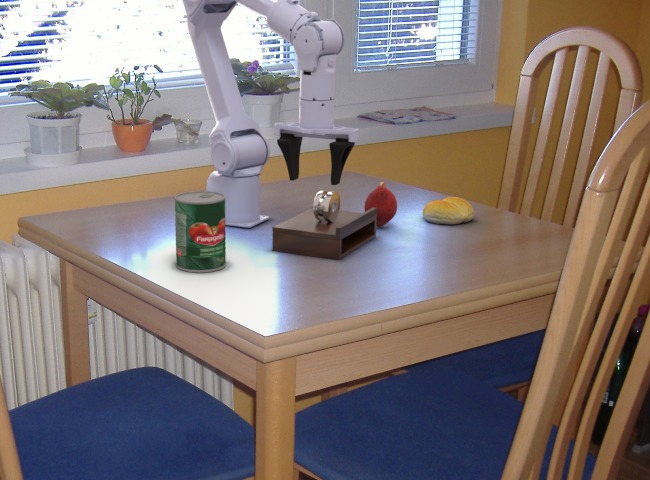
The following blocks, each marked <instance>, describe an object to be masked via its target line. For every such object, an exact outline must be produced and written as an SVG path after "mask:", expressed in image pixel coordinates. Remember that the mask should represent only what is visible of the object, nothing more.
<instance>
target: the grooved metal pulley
mask: <svg viewBox="0 0 650 480" xmlns="http://www.w3.org/2000/svg"><path fill="white" fill-rule="evenodd" d="M312 208H313V214H314V217H315V218H316V219H317V220H319V221H323V220H324V219H325V221H327V222H334V221H335V220H336V219H337V217H338V214H339V210H341V196H340V194H339V192H338V191H332V190H329V191H327V190H324V189H323V190H322V189H321V190H319V191H318V192H317V193H316V195H315V196H314V199H313V203H312Z"/></svg>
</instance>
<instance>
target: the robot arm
mask: <svg viewBox="0 0 650 480" xmlns="http://www.w3.org/2000/svg"><path fill="white" fill-rule="evenodd" d="M299 1H300V0H182V4H183V7H184V10H185V13H186V19H187V20H186V21H187V22H186V23H187V29H188V33H189V36H190V40H191V42H192V46H193V50H194V53H195V56H196V60H197V63H198V67H199V69H200V73H201V77H202V79H203V83H204V87H205V89H206V93H207V95H208V99H209V103H210V106H211V109H212V112H213V115H214V119H215V123H216V124H215V126H214V127H213V129H212V131H211V132H210V134H209V136H208V140H209V143H210V158H211V163H212V166H213V167H214V168H215V170H214V171H213V172H211V173H210V174H209V176H208V178H207V181H206V185H205V186H206V187H205V191H212V192H218V193H222V194H224V195H225V196H226V198H225V218H226V219H225V223H226V224H225V226H231V227H237V228H246V229H247V228H248V229H250V228H253V227H255V226H257V225H259V224H261V223H264V222H265V221H268V220H269V219H270V216H268V215H261V173H262V172H264V167H265V165H267V163H268V161H269V159H270V157H271V148H270V144H269V142H268V139H267V138H266V136H265V135H264V133H262V129H261V128H260V124H259V123H258V122H257V121H256V120H254V119H253V118H251V117H250V116H249V115H248V114H247V113H246V109H245V106H244V102H243V100H242V96H241V93H240V89H239V86H238V82H237V79H236V76H235V73H234V69H233V66H232V63H231V59H230V55H229V52H228V49H227V46H226V42H225V39H224V36H223V33H222V27H223V23H224V21H226V20H227V19H228V17H229V16H230V15H231V14H232V12H233V10H234V9H235V7H237V5H238V4H240V5H242V6H244V7H245V8H247V9H248V10H251V11H252V12H254V13H256V14H257V15H259V16H261V17H263V18H265V19H266V20H265V21H266V26H267V28H268V29H269V30H270V31H271V32H273V34H275V35H277V36H278V37H280V38H282V39H283V40H284V41H286V42H288V43H289V44H290V45H292V46H293V50H294V52H295V54H296V56H297V63H298V64H297V66H298V68H299V70H300V74H299V75H300V76H299V111H298V112H299V113H298V115H299V116H298V122H286V121H285V122H283V121H278V122H276V123H274V130H273V131H274V132H273V133H274V134H273V135H274V136H279V138H277V140H276V143H277V146H278V148H279V149H280V151H281V154H282V155H283V159H284V161H285V165H286V168H287V174H288V177H289V181H291V182H292V181H296V180H298V179H299V178H300V156H301V155H300V154H301V148H302V142H303V138H309V139H320V140H321V139H323V140H332V141H333V142H332V141H331V142H330V143H329V145H328V146H329V153H330V160H331V162H330V163H331V164H330V165H331V168H330V185H331V186H337V185H339V184H340V183H341V178H342V176H343V175H342V174H343V171H344V168H345V165H346V163H347V160H348V158H349V156H350V154H351V152H352V150H353V148H354V147H355V144H356V143H357V142H359V141H360V128H355V127H348V126H344V125H342V126H341V125H337V124H335V103H336V100H335V99H336V79H337V78H336V76H337V74H336V73H337V56H338V55H340V53H341V52H342V51H343V49H344V46H345V42H346V41H345V33H344V29H343V28H342V26H341V25H340V24H339V23H338V22H337V20H336V19H334V18H327V19H323V20H322V19H321V18H320V17H319V14H318V13H317V12H316V11H309V10H308V9H306V8H305V7H303V6H301V5H300V4H299Z"/></svg>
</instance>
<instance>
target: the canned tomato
mask: <svg viewBox="0 0 650 480" xmlns="http://www.w3.org/2000/svg"><path fill="white" fill-rule="evenodd" d="M225 198H226V196H225V195H224V194H222V193H218V192H212V191H206V190H192V191H191V190H190V191H185V192H180V193H177V194H176V195H174V222H175V224H174V225H175V261H176V263H175V266H176V268H177V269H178V270H180V271H184V272H186V273H187V272H188V273H197V274H198V273H213V272H217V271H220V270H223V269H225V268H226V266H227V261H226V258H227V257H226V255H227V254H226V253H227V251H226V249H227V248H226V247H227V246H226V243H227V242H226V240H227V238H226V235H227V232H226V225H225V224H226V223H225V219H226V218H225Z"/></svg>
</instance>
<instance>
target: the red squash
mask: <svg viewBox="0 0 650 480" xmlns="http://www.w3.org/2000/svg"><path fill="white" fill-rule="evenodd" d="M386 186H387V184H386V183H385V182H384V181H381V182H379V183H378V186H377V187H376V188H375V189H373V190H372V191H371V192H370V193H368V195H367V197H366V199H365V201H364V207H363V208H364V212H366V211H367V210H369V209H371V208H373V207H375V208H377V223H376V228H382V227H384V226H385V225H386V224H388V223H389V222H390V221H391V220H392V219H394V218H395V216H396V214H397V211H398V202H397V201H398V200H397V198H396V196H395V194H394V193H393V192H392V191H391V190H390V189H388V188H387V187H386Z"/></svg>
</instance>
